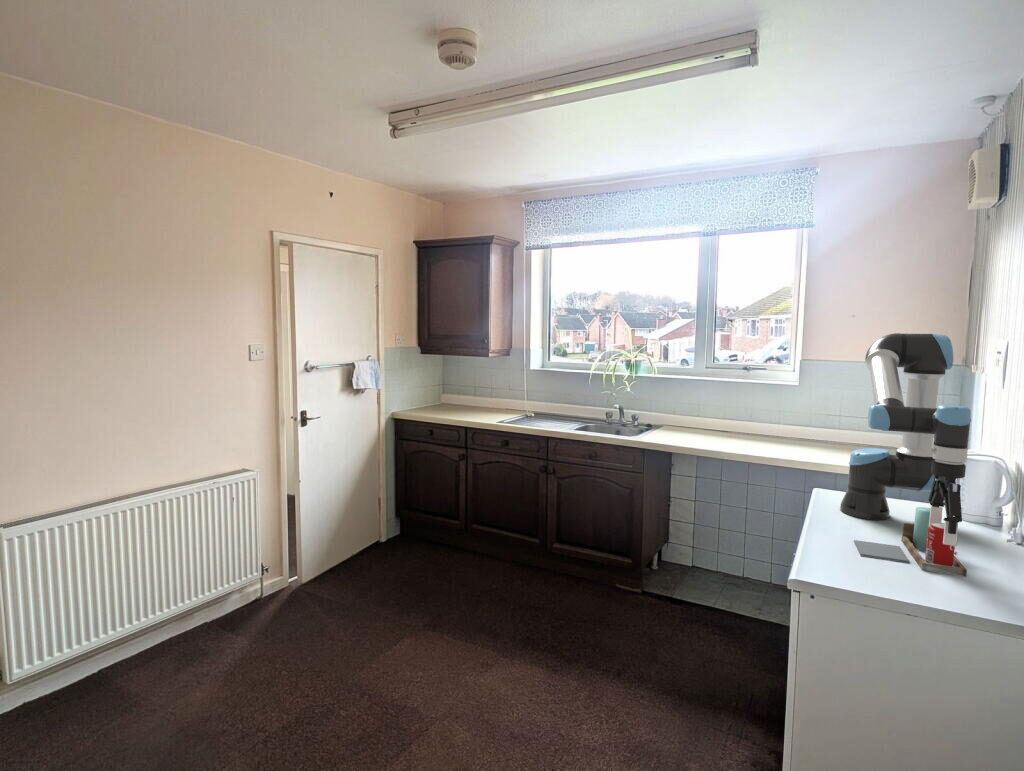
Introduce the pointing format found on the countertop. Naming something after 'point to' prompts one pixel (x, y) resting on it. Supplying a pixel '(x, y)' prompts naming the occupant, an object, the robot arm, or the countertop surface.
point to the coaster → (881, 551)
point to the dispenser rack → (907, 541)
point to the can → (921, 528)
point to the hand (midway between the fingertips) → (941, 536)
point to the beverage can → (938, 546)
